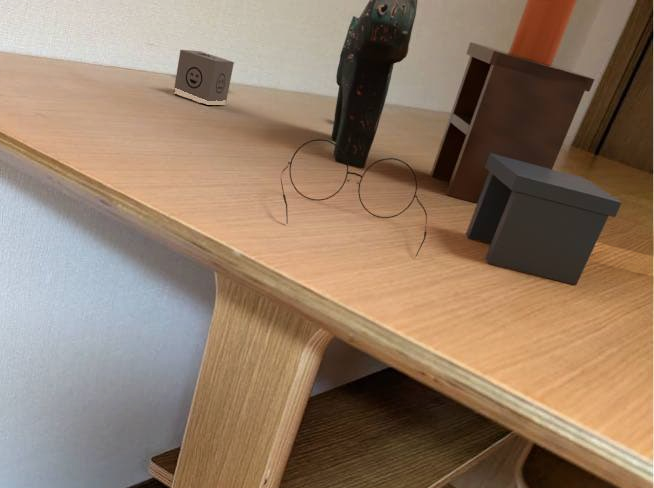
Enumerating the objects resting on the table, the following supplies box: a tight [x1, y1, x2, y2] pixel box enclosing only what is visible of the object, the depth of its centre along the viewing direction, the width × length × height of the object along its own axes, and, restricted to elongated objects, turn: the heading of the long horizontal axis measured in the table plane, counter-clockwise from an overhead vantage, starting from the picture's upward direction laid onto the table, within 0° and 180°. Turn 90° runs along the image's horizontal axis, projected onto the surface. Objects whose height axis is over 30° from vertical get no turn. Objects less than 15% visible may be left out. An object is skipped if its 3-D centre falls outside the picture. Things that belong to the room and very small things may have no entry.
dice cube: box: [173, 49, 235, 102], centre depth 103 cm, size 5×5×5 cm
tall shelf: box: [429, 41, 595, 204], centre depth 91 cm, size 11×11×14 cm
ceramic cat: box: [330, 0, 418, 169], centre depth 92 cm, size 20×6×20 cm, turn 176°
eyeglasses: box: [280, 138, 428, 258], centre depth 67 cm, size 11×13×5 cm
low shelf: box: [465, 153, 623, 286], centre depth 70 cm, size 9×9×7 cm
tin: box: [507, 0, 578, 66], centre depth 85 cm, size 5×5×6 cm
